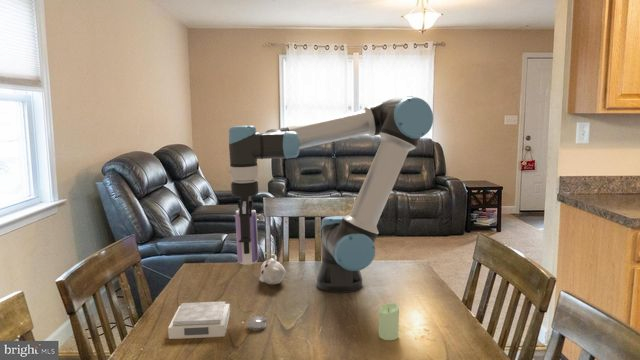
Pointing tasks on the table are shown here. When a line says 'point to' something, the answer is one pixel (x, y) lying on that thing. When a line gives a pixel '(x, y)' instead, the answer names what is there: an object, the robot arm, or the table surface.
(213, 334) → the base
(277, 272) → the cat figurine
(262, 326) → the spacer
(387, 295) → the table surface
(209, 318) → the pan
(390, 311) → the candle
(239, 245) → the beverage can
